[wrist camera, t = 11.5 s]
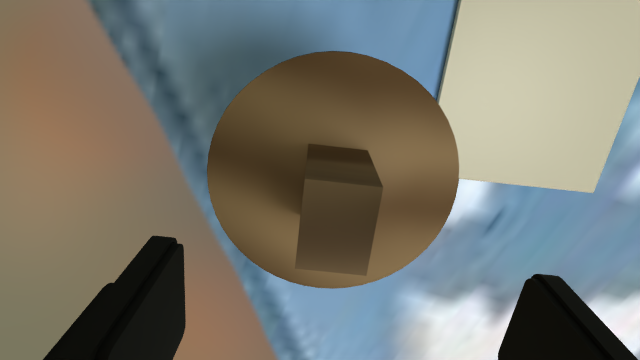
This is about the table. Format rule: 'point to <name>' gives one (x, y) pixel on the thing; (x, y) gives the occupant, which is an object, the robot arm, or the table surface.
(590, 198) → the table surface
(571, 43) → the placemat
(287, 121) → the lid
